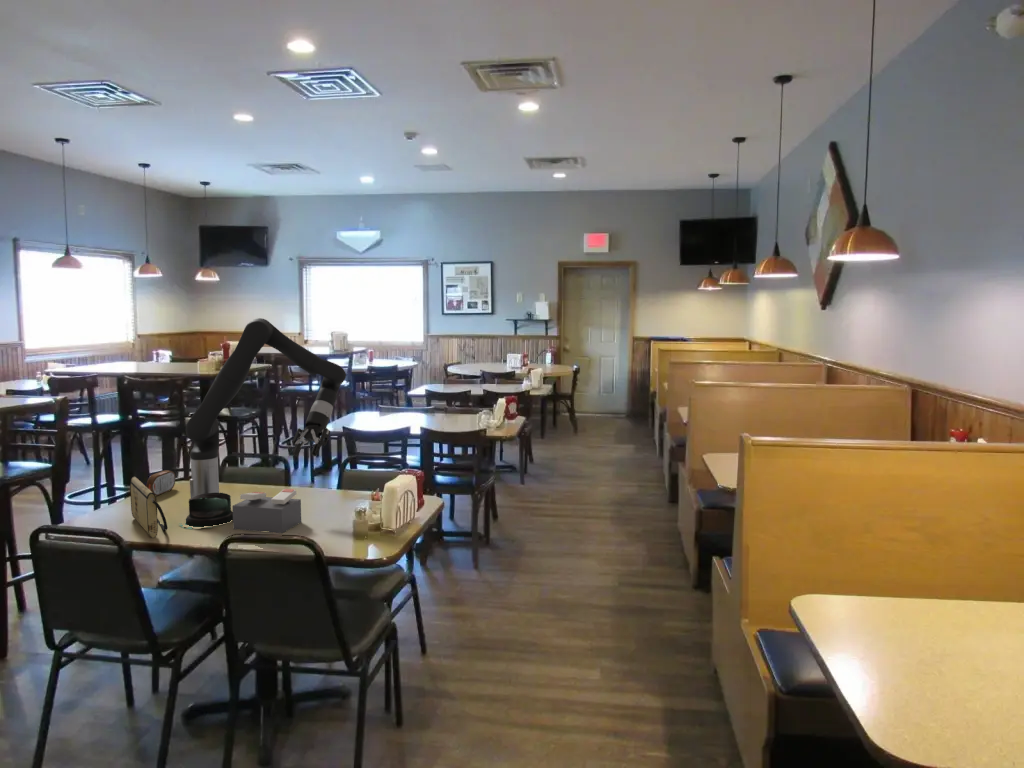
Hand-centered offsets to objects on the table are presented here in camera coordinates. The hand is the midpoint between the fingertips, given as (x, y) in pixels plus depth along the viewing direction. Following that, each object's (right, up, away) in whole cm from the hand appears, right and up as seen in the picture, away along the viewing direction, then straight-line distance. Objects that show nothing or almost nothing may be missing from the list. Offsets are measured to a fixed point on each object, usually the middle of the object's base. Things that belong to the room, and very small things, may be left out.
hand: (304, 455), depth 244 cm
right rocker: (-3, -13, -12) cm, 18 cm away
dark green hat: (-31, -22, -5) cm, 38 cm away
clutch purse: (-48, -23, -12) cm, 54 cm away
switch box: (-9, -22, -11) cm, 27 cm away
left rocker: (-14, -12, -12) cm, 22 cm away
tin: (-65, -18, +29) cm, 73 cm away
